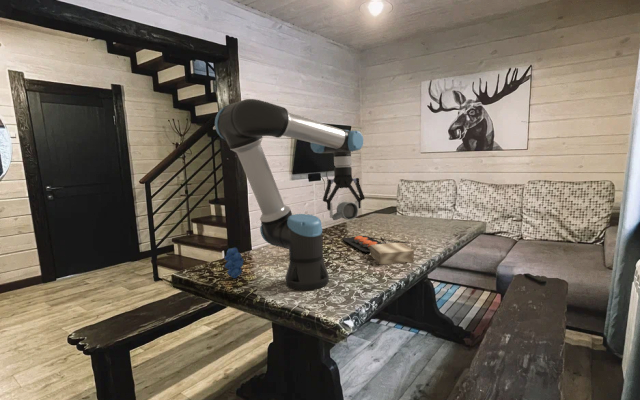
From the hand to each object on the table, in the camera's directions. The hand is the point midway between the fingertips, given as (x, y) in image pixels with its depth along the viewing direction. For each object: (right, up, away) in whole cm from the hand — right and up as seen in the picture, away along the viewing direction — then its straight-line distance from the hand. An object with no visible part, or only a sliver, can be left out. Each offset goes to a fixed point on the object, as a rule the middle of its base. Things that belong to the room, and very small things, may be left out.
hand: (344, 216), depth 146 cm
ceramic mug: (0, -1, 0) cm, 1 cm away
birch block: (+19, -18, -6) cm, 27 cm away
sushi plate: (+19, -15, +19) cm, 31 cm away
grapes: (-42, -22, -22) cm, 52 cm away
